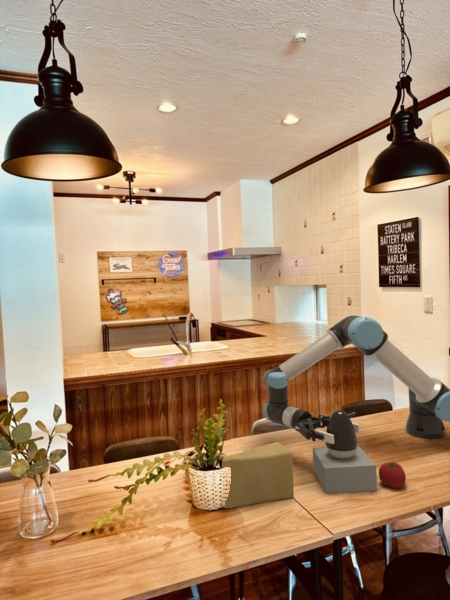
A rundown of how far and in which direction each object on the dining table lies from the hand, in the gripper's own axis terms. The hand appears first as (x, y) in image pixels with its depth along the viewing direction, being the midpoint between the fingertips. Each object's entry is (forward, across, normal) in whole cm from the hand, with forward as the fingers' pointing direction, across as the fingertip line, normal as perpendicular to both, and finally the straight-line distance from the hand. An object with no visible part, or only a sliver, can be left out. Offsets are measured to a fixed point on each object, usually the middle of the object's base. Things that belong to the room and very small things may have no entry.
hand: (346, 434), depth 128 cm
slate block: (-2, 0, -16) cm, 16 cm away
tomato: (+10, -9, -16) cm, 21 cm away
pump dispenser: (-2, 0, -8) cm, 8 cm away
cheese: (-12, +29, -16) cm, 36 cm away
